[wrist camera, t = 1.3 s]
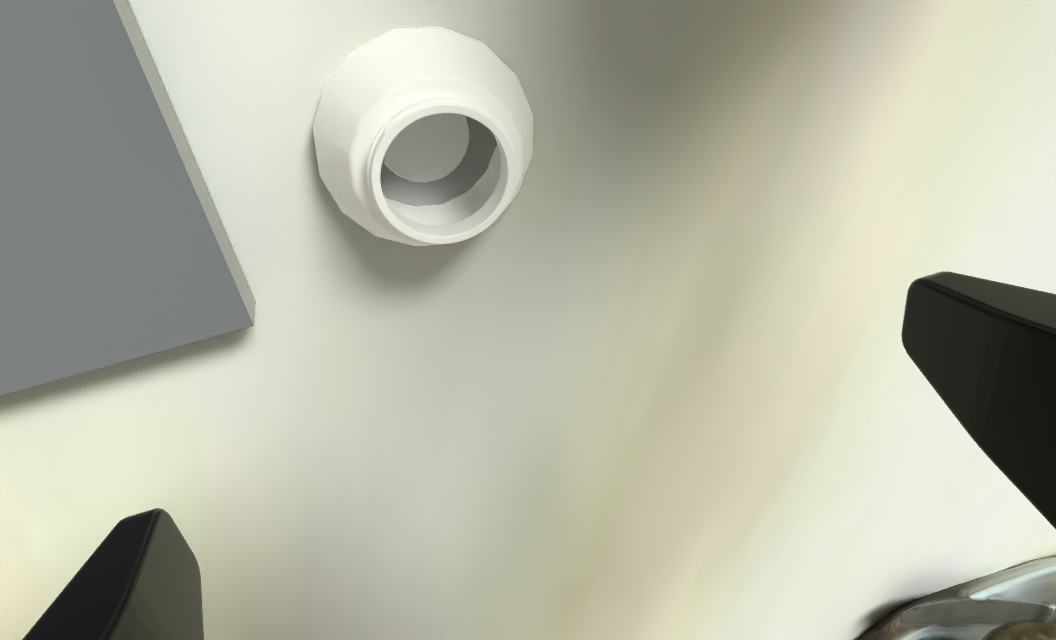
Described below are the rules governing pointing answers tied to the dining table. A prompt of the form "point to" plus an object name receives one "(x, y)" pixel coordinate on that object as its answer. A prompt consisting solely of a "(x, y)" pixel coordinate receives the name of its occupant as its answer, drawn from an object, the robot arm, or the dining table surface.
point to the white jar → (421, 132)
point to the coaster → (99, 202)
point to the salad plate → (981, 609)
